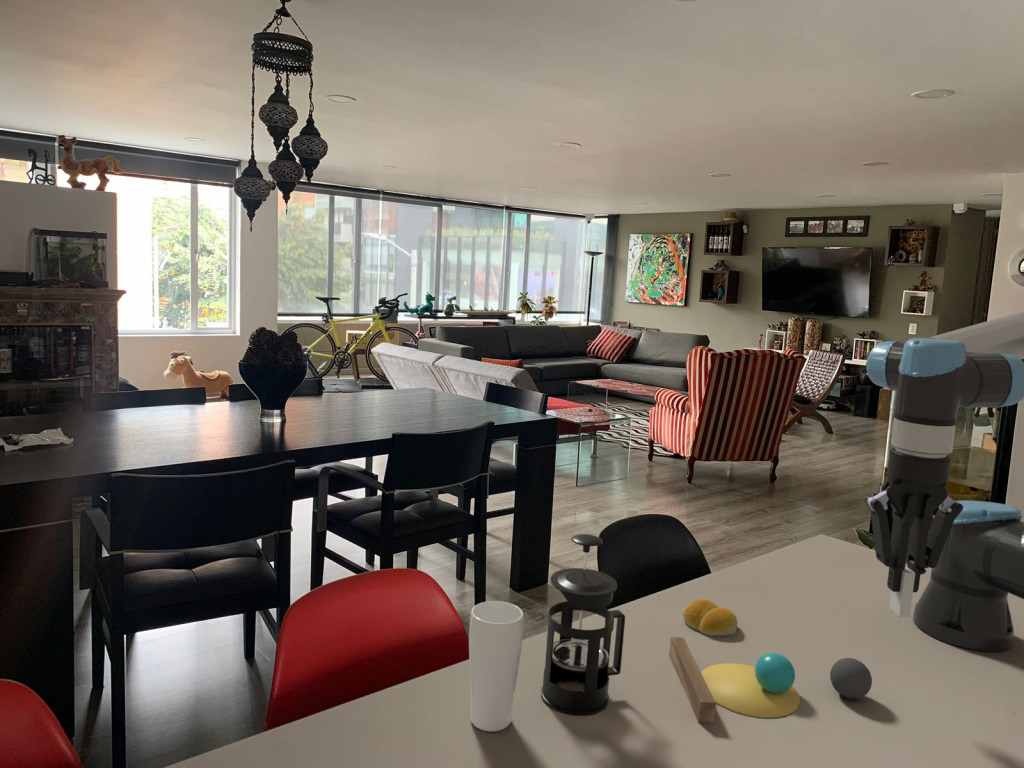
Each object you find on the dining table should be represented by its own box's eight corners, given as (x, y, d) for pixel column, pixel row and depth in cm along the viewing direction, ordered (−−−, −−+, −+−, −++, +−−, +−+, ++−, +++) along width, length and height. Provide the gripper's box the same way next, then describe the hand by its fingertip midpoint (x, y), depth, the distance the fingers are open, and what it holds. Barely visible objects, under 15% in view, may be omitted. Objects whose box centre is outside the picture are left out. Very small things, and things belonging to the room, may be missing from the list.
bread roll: (719, 643, 124) (721, 620, 124) (674, 622, 131) (676, 600, 130) (747, 630, 130) (750, 608, 129) (703, 610, 136) (705, 589, 136)
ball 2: (831, 646, 112) (817, 679, 113) (850, 667, 106) (835, 702, 107) (865, 655, 112) (851, 688, 113) (885, 676, 107) (870, 710, 108)
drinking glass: (488, 700, 103) (494, 595, 101) (527, 721, 99) (535, 612, 97) (453, 721, 98) (459, 611, 96) (493, 744, 94) (500, 629, 92)
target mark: (778, 666, 117) (779, 665, 117) (815, 720, 103) (815, 718, 103) (688, 662, 117) (688, 661, 117) (713, 715, 103) (713, 713, 103)
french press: (552, 721, 99) (564, 552, 96) (526, 683, 108) (537, 527, 105) (632, 709, 103) (646, 546, 100) (601, 673, 112) (613, 523, 109)
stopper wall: (681, 655, 119) (683, 637, 119) (713, 723, 101) (715, 702, 101) (669, 654, 119) (670, 636, 118) (698, 722, 101) (700, 701, 101)
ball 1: (780, 640, 112) (745, 652, 112) (795, 659, 107) (757, 672, 107) (791, 673, 113) (755, 685, 113) (805, 694, 107) (768, 706, 108)
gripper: (951, 446, 109) (930, 602, 113) (860, 442, 109) (842, 599, 113) (984, 459, 102) (960, 626, 105) (887, 455, 101) (866, 623, 105)
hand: (899, 612), depth 109 cm, fingers closed
